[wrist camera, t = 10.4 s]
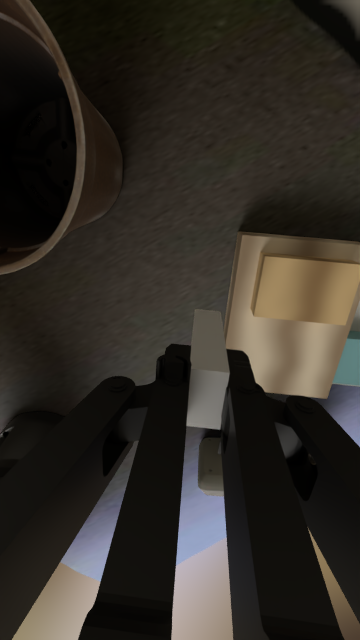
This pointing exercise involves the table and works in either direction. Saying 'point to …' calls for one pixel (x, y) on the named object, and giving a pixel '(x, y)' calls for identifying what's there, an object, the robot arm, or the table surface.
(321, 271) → the ochre tile
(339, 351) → the platform
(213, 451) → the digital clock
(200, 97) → the table surface
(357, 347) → the teal tile
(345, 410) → the table surface
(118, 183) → the plant pot
